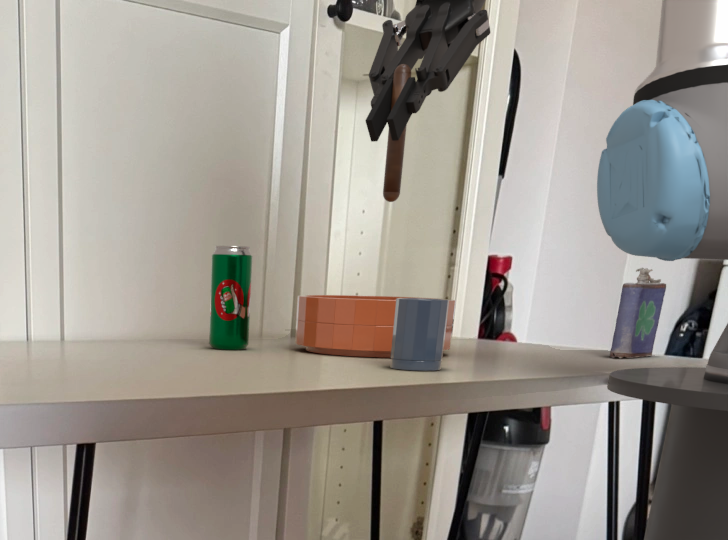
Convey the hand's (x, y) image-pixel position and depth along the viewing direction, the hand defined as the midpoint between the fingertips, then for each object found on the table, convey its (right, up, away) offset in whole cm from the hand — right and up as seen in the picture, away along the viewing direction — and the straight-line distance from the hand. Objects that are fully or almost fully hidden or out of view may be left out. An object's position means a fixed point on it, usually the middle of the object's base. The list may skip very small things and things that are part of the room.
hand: (382, 130), depth 116 cm
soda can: (-17, -19, +16) cm, 30 cm away
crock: (+3, -29, -5) cm, 29 cm away
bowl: (+2, -20, +16) cm, 25 cm away
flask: (+36, -19, +19) cm, 45 cm away
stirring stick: (+2, -5, +6) cm, 8 cm away
